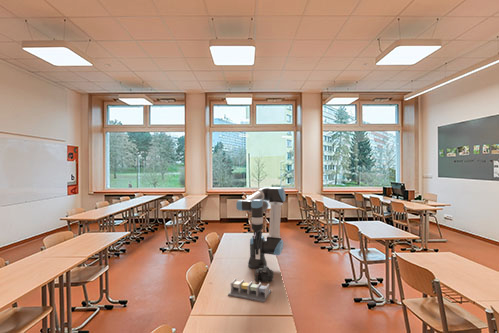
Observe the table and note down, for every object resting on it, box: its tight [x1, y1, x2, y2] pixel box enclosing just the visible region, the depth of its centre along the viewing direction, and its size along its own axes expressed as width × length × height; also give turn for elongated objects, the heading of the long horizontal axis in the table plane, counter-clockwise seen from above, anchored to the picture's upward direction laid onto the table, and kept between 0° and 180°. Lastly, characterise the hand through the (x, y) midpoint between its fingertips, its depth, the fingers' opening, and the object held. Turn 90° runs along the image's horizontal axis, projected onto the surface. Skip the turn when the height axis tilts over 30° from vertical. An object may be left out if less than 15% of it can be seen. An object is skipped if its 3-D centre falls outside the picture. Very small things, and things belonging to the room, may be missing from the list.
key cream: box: [233, 280, 241, 288], centre depth 167 cm, size 4×4×2 cm
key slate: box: [259, 284, 267, 293], centre depth 161 cm, size 4×4×2 cm
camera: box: [254, 265, 274, 283], centre depth 182 cm, size 13×10×10 cm
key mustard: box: [241, 281, 250, 289], centre depth 165 cm, size 4×4×2 cm
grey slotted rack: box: [227, 277, 272, 303], centre depth 164 cm, size 14×24×6 cm, turn 68°
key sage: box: [250, 283, 258, 291], centre depth 163 cm, size 4×4×2 cm
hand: (257, 258), depth 170 cm, fingers closed
